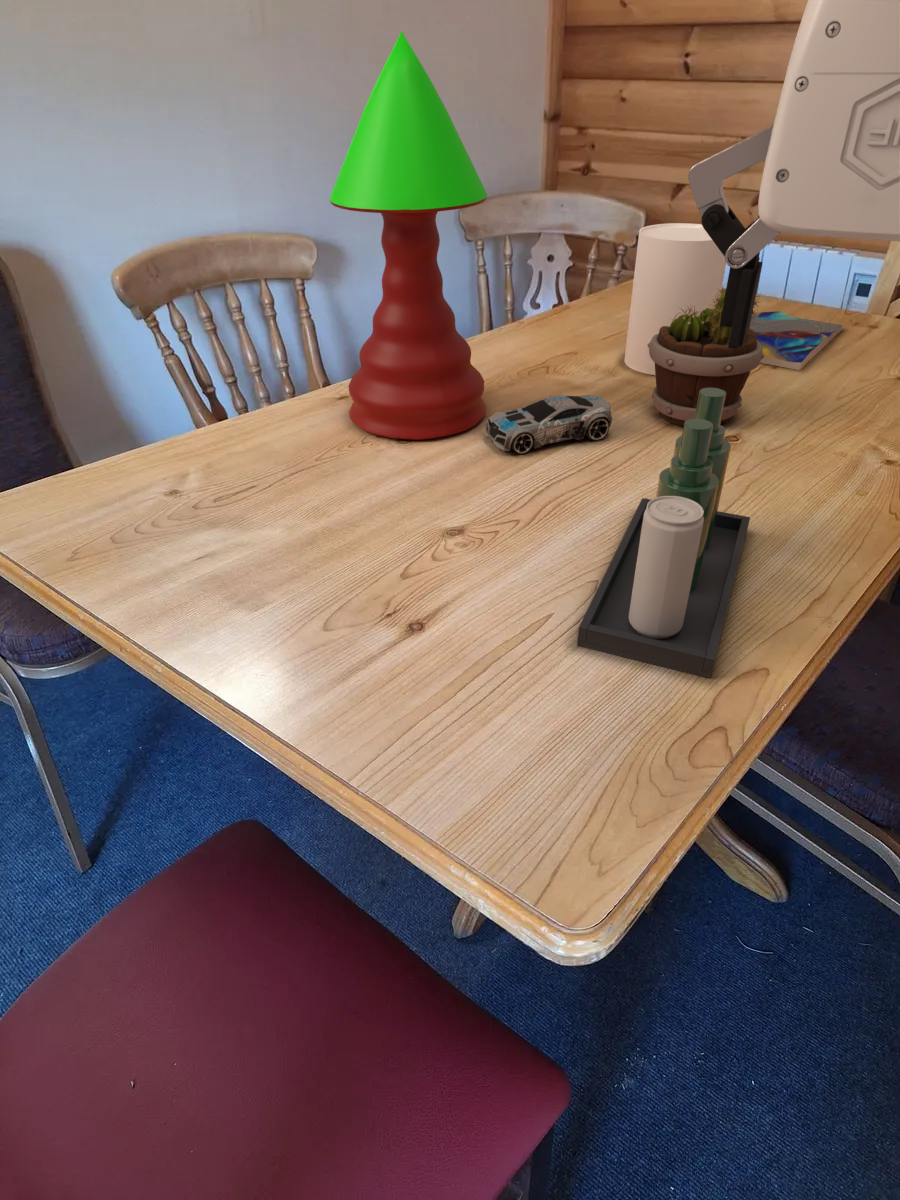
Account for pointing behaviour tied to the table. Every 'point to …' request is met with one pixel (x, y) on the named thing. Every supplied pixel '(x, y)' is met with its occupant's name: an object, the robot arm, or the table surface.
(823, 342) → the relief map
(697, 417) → the far bottle
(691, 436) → the middle bottle
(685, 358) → the flowerpot
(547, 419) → the toy car
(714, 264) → the canister
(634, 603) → the beverage can
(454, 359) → the table lamp
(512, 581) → the table surface
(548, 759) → the table surface
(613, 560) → the tray
